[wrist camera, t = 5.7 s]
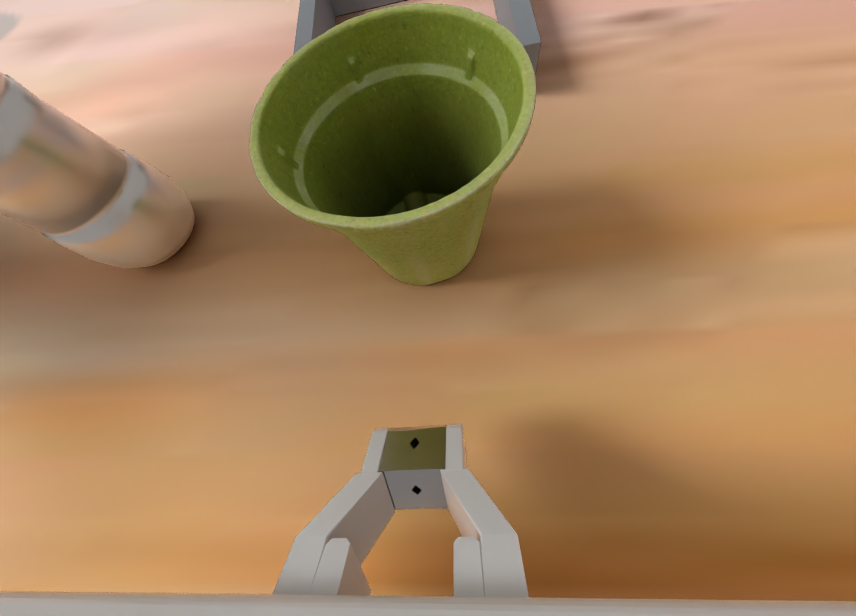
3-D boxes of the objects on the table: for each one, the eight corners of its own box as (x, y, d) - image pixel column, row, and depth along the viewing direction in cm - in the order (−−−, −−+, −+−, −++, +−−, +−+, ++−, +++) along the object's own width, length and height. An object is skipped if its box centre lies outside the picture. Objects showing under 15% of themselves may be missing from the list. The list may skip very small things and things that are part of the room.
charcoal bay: (312, 134, 22) (288, 94, 19) (322, 10, 27) (304, -37, 24) (532, 93, 20) (541, 42, 17) (502, -32, 25) (505, -89, 22)
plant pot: (463, 346, 16) (448, 276, 7) (320, 276, 18) (193, 169, 10) (534, 202, 18) (584, 23, 9) (396, 158, 20) (342, -12, 12)
